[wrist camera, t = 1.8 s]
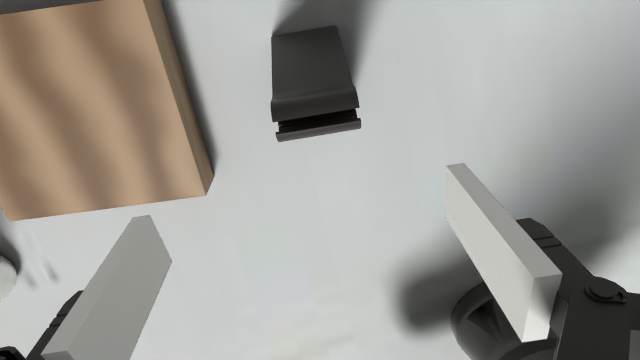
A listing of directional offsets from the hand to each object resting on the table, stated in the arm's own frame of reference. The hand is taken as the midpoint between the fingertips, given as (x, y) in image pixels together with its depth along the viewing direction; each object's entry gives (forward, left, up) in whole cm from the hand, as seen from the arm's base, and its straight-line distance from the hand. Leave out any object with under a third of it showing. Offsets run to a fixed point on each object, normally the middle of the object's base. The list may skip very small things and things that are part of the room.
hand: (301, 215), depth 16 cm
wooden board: (+21, -1, -22) cm, 30 cm away
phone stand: (-1, -1, -22) cm, 22 cm away
